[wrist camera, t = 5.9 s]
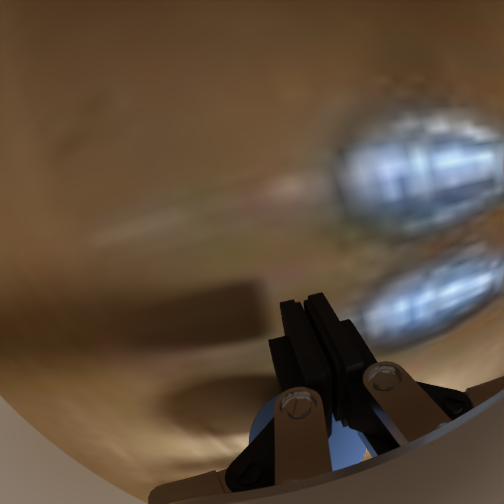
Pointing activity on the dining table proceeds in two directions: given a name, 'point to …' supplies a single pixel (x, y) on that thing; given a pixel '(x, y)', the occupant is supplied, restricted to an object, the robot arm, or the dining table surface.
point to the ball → (340, 442)
